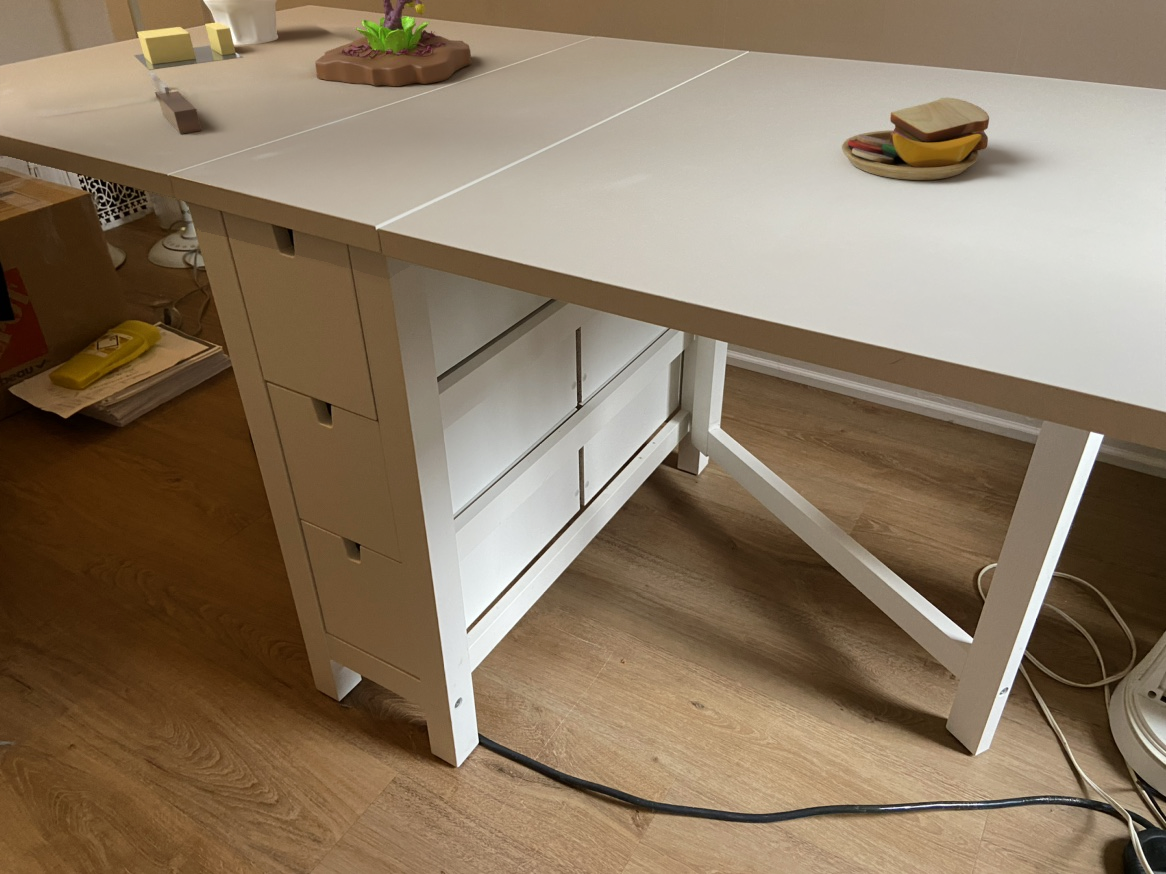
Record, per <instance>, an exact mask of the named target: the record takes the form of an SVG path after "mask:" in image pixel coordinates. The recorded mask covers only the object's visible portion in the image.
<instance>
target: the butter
mask: <svg viewBox="0 0 1166 874" xmlns="http://www.w3.org/2000/svg"><path fill="white" fill-rule="evenodd" d="M137 36H138V40H139V44H140V46H141V50H142V54H144V57H145V58H146V59H147V60H148V61H149V62H150V63H151V64H152V65H155V64H162V63H170V62H177V61H185V60H192V59H196V57H195V53H194V49H193V48H194V46H193V41H192V38H191V33H190V32H188V30H186V29H184V28H182V27H181V26H176V27H175V26H174V27H167V28H159V29H149V30H142V31H137Z"/></svg>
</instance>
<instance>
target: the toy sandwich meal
mask: <svg viewBox="0 0 1166 874" xmlns="http://www.w3.org/2000/svg"><path fill="white" fill-rule="evenodd" d="M889 120H890V121H889V122H890V123H891V124H893V125H894V129H893V130H876V131H869V132H864V133H860V134H856V135H853V136H850V137H849V138H847V139H846V140H845V141H844V142H843V143H842V145H841V150H842V153H843V154H844V156H846V157H847V158H848V161H849V162H850V163H851V165H853V166H854V167H855V168H857V169H859V170H861V171H864V172H866V173H869V174H872V175H875V176H881V177H884V178H889V179H898V180H909V181H931V180H932V181H933V180H941V179H946V178H947V179H948V178H952V177H955V176H957V175H960V174H962V173H963V172H965V171H966V170H967V169H968V168H970V167H971V166H973V165H974V164H976V162H977V161H978V160H979V151H985V150H986V149H987V148H988V143H989V137H988V135H987V133H986V132H985V131H986V130H987V129H988V128H989V123H990V116H989V114H988V112H987V111H986V110H984V109H983V108H982V107H980V106H979V105H977V104H974V103H971V102H969V101H967V100H963V99H959V98H955V97H941V98H939V99H937V100H934V101H929V102H925V103H921V104H918V105H914V106H909V107H906V108H902V109H898V110H894V111H891V112H890V119H889Z"/></svg>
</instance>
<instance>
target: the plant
mask: <svg viewBox="0 0 1166 874" xmlns="http://www.w3.org/2000/svg"><path fill="white" fill-rule="evenodd" d="M382 1H383V9H384V16H382V17H380V19H379V24H378V23H376V22H373V21H371V20H366V19H362V22H361V24H362V27H364V28H365V29H366V30H365V29H361V28H358V27H356V28H355V30H357V31H358V32H359V33H360V34H362V35H363V36H364V37H360V38H357V39H356V40H353V41H352V42H349V43H346V44H343V45H340V46H338V47H335V48H331V49H330V50H326V51H325V52H324V54H323V55H322V56H321V57H319V58H318V59H317V60H315V70H316V78H317V79H320V80H325V81H331V82H343V83H346V84H357V85H358V84H359V85H372V86H375V87H377V86H380V87H381V86H390V87H403V86H406V85H412V84H421V85H428V84H433V83H439V82H443V81H446V80H448V79H450V78H451V77H452V75H453V74H454V73H455V72H457V71H459V70H461V69H462V68H465V67H467V66H470V65H472V55H471V48H470V46H469V45H470V44H468V43H466V42H464V40H453V39H448V38H446V37H443V36H441V35H437V34H436V33H434V32H433V31H432V30H431V31H430V32H427V30H425V28H427V27H428V25H429V24H430V21H426V22H423V23H421V24H420V25H419V26H417V28H416V29H415V31H414V32H413V29H414V28H415V27H416V24H417V23H416V18H415V16H412V17H410V16H408V15H406V16H404V17H403V14H402V13H403V10H404V9H405V5H407V7H409V8H413V7H414V9H415V12H416V13H417V14H419V15H421V16H422V15H423V14H424V13H425V10H426V7H425V4H424V3H423V2H422V1H421V0H397V1H396V4H395V5H396V6H395V8H393V5H392V2H391V0H382Z"/></svg>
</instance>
